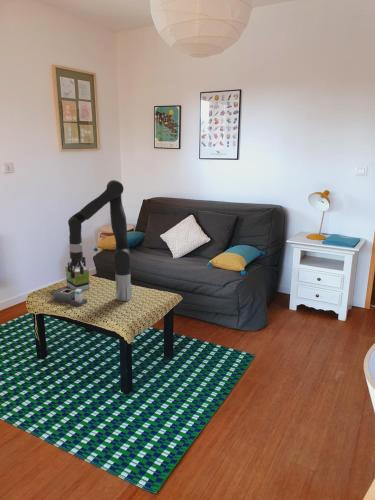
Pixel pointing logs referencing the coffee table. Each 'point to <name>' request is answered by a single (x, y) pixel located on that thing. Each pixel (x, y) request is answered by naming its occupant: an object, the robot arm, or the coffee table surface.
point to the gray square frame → (78, 302)
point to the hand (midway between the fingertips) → (77, 275)
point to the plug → (78, 295)
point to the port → (64, 295)
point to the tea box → (78, 279)
